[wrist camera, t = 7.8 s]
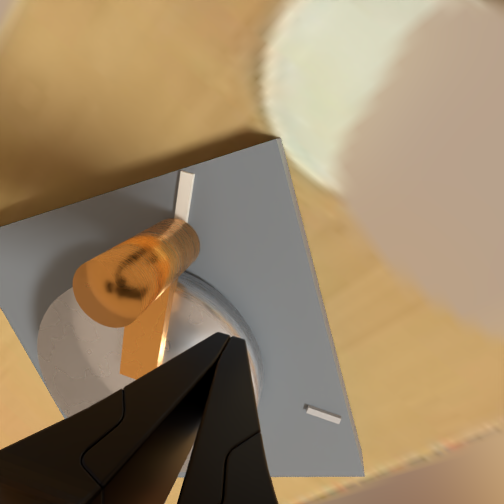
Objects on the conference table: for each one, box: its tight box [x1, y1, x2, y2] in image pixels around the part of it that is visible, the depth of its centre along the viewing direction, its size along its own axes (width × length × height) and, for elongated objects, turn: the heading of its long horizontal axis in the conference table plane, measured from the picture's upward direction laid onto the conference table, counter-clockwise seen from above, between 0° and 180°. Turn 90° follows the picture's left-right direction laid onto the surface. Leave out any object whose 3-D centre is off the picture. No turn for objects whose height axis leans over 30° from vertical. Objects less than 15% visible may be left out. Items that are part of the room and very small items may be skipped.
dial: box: [37, 218, 264, 472], centre depth 15 cm, size 15×12×6 cm
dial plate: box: [0, 138, 365, 477], centre depth 19 cm, size 19×19×2 cm
